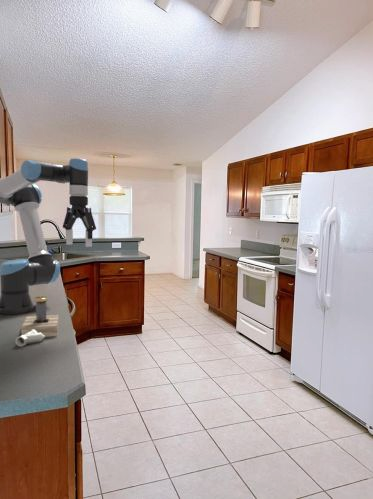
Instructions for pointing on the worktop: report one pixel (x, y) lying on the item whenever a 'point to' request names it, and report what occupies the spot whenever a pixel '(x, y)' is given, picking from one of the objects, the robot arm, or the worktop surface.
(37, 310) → the gold-capped peg
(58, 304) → the worktop surface
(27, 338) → the pipe fitting
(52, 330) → the socket block
